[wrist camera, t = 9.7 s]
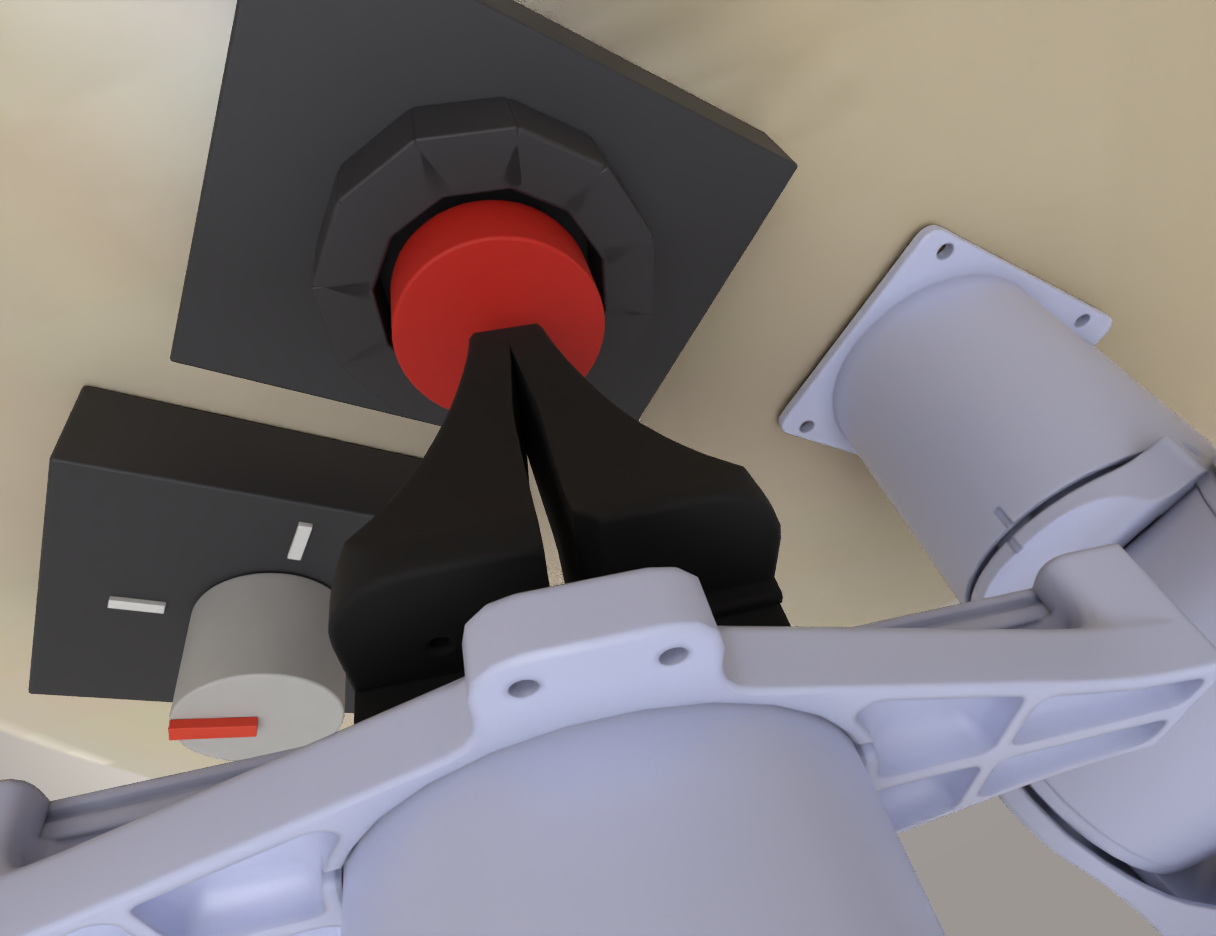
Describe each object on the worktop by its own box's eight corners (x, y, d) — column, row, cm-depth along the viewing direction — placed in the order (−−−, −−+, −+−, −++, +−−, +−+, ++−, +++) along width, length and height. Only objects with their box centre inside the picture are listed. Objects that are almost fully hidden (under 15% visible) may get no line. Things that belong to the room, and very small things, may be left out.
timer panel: (503, 475, 26) (515, 544, 24) (409, 651, 31) (412, 721, 29) (82, 384, 20) (46, 462, 18) (56, 616, 26) (25, 699, 23)
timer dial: (354, 573, 23) (351, 683, 20) (341, 660, 26) (337, 767, 23) (188, 568, 21) (162, 686, 19) (193, 661, 24) (170, 777, 21)
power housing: (765, 133, 20) (831, 197, 17) (594, 422, 25) (622, 508, 22) (270, -128, 14) (244, -98, 12) (185, 312, 20) (153, 408, 17)
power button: (622, 241, 17) (642, 280, 16) (541, 394, 19) (553, 439, 18) (429, 164, 15) (433, 202, 14) (364, 345, 17) (364, 391, 16)
